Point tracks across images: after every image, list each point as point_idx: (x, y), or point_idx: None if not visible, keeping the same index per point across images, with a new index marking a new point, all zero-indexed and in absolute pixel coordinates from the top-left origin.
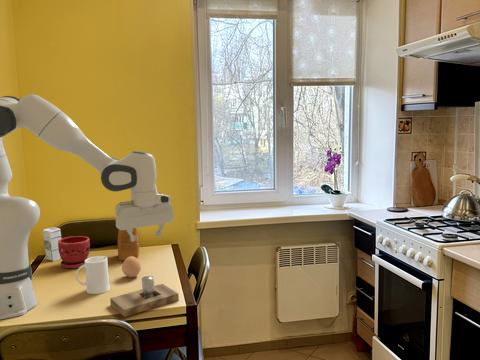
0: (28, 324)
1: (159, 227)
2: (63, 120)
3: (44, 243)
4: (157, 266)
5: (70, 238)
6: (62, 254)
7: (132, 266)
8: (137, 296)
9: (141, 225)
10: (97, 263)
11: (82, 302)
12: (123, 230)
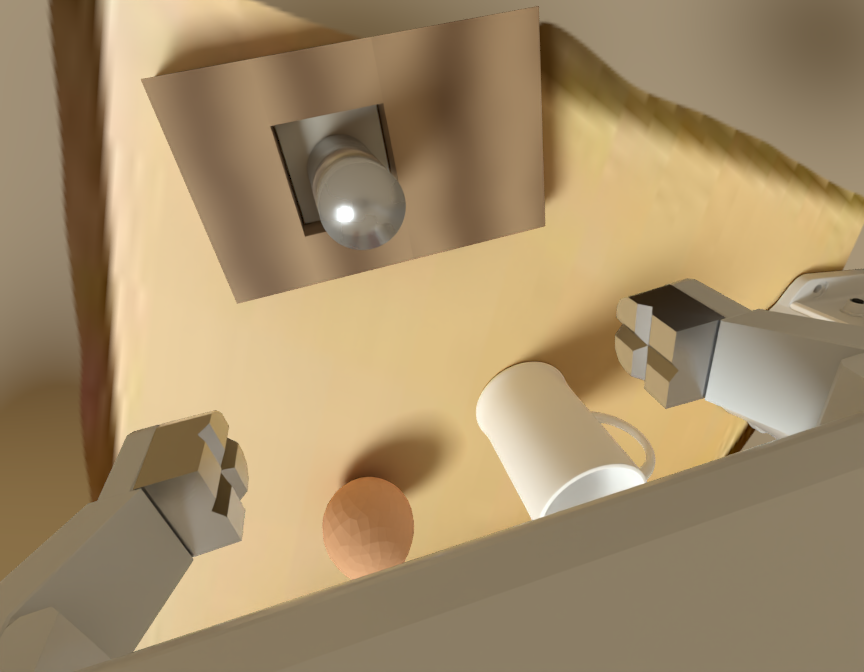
0: (822, 182)
1: (130, 630)
2: None
3: None
4: (225, 569)
5: None
6: None
7: (373, 510)
8: (417, 176)
9: (792, 478)
10: (604, 460)
11: (610, 302)
12: None
